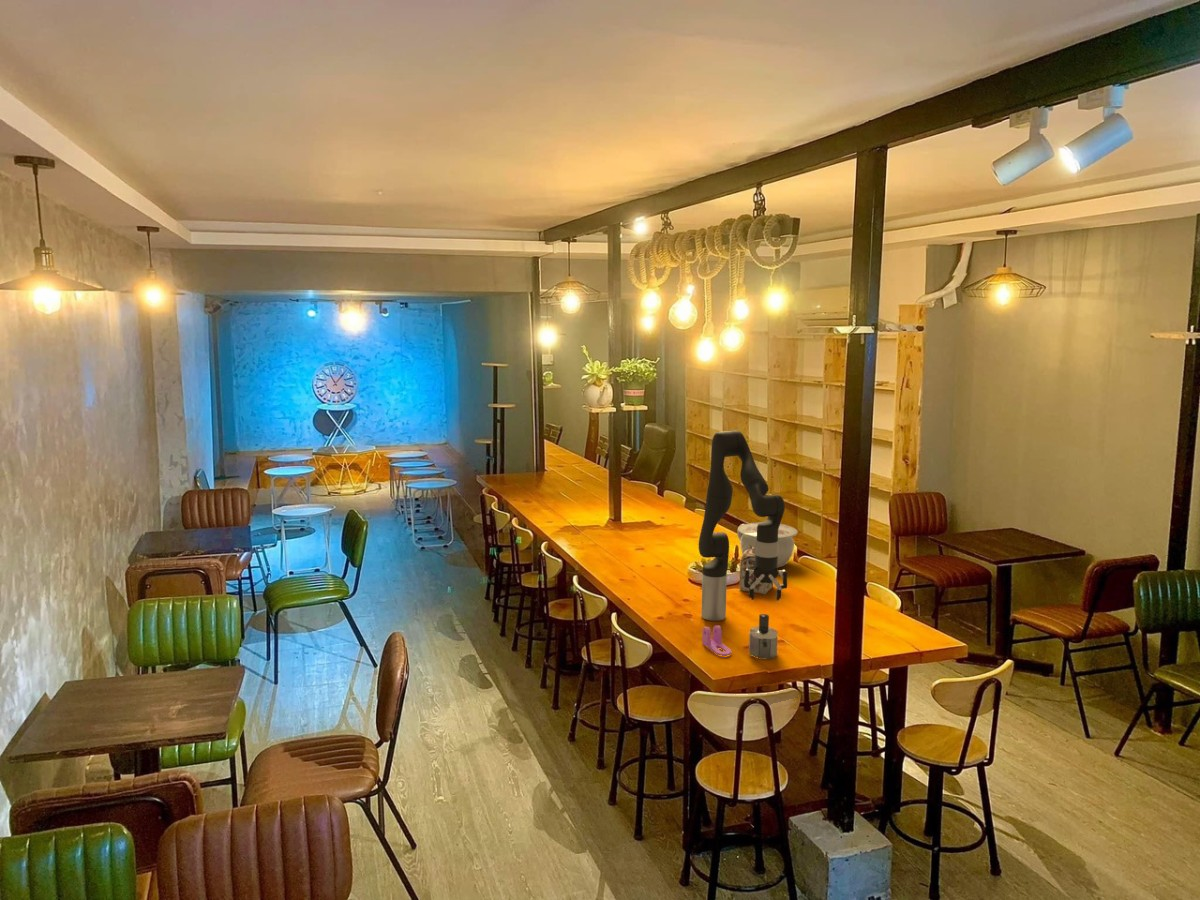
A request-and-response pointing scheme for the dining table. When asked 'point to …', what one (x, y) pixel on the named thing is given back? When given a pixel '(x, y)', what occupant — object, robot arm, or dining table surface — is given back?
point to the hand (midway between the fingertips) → (764, 599)
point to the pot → (763, 648)
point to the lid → (763, 629)
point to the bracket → (715, 640)
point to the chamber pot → (784, 540)
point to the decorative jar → (749, 563)
